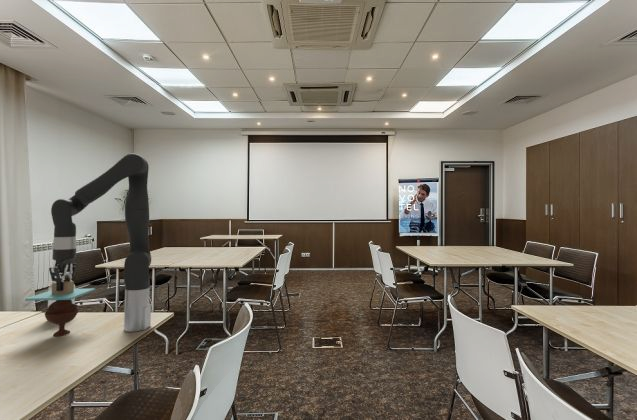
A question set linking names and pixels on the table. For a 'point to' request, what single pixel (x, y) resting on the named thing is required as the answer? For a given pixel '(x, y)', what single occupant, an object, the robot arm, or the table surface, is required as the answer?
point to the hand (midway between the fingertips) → (63, 289)
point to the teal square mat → (61, 293)
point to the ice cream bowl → (61, 315)
